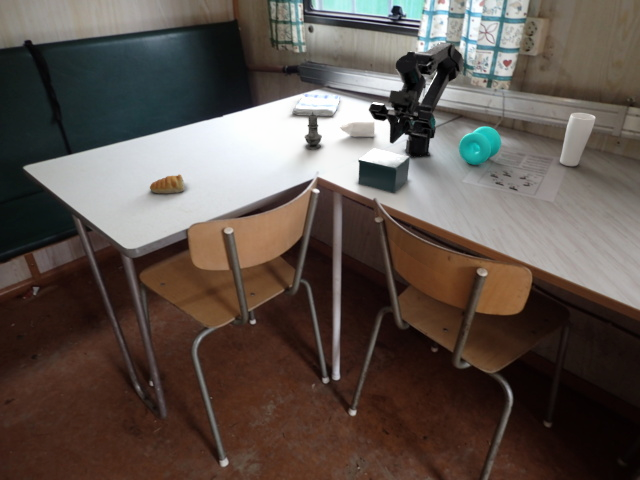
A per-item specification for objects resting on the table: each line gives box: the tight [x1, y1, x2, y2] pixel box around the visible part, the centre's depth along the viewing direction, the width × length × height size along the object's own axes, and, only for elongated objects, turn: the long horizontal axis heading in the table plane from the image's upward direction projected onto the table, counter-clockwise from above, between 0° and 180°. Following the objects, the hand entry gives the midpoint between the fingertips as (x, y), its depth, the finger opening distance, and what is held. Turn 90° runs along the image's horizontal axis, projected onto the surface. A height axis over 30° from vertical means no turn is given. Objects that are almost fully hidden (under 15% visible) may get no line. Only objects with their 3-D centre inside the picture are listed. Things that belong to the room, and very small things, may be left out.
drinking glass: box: [559, 112, 597, 167], centre depth 138 cm, size 7×7×15 cm
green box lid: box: [357, 148, 411, 171], centre depth 128 cm, size 9×11×1 cm
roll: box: [339, 119, 375, 138], centre depth 163 cm, size 6×12×6 cm, turn 89°
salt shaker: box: [304, 112, 323, 150], centre depth 153 cm, size 6×6×12 cm
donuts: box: [458, 125, 502, 166], centre depth 142 cm, size 10×10×10 cm
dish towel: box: [291, 93, 341, 117], centre depth 193 cm, size 17×24×3 cm
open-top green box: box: [357, 158, 411, 194], centre depth 131 cm, size 9×11×7 cm
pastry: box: [149, 173, 185, 195], centre depth 129 cm, size 9×7×4 cm
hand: (391, 142), depth 129 cm, fingers closed
